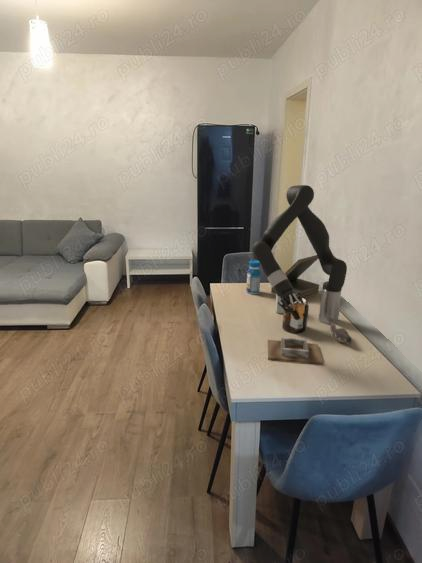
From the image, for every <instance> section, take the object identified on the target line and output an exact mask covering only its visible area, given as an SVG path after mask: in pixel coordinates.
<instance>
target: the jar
mask: <svg viewBox="0 0 422 563" xmlns="http://www.w3.org/2000/svg"><path fill="white" fill-rule="evenodd" d="M302 300H303V302H304V304H305V310H304V311H305V313H306V316H305V317H304V318H303V324H302V325H303V328H301V329H299V328H298V329H296V328H294V327H291V326H290V322H291V313H290V312H288V313H287V312H286V311H285V310H284V313H282V316H283V317H282V329H283V330H284V331H285V332H287V333H290V332H291V333H292V334H302V333H304V332H306V331H307V328H308V320H309V319H308V318H309V310H310V308H309V307H310V306H309V304H308V303H307V300H306V298H305V299H303V298H302ZM294 303H295V302H294ZM300 303H301V302H300ZM286 308H287V307H286ZM291 308H292V307H291ZM287 309H288V308H287Z"/></svg>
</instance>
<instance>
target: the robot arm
mask: <svg viewBox="0 0 422 563" xmlns="http://www.w3.org/2000/svg"><path fill="white" fill-rule="evenodd" d="M314 191H315V190H314V189H313V188H312V186H310V185H306V184H301V185H300V184H299V185H293V186H290V187H289V188H288V189H287V191H286V195H285V197H286V201H287V203H288V205H289V206H288V208H286V209H285V210H284V211H283V212H282V213H280V214H279V215H278V216H276V217H275V218H274V219H273V220H272V221H271V223H270V224H269V225H268V226H267V227H266V229H265V230H264V232H263V235H262V236H261V239H260V240H258V241H255V243H254V244H253V246H252V248H251V249H252V252H251V254H252V257H253V258H254V260H257V261H259V262H260V267H261V268H262V271H263V273H264V275H265V277H266V278H267V280H268V283H269V284H270V286H271V288H273V289H274V291H275V293H276V294H277V296H280V298H281V300H280V301H279V302H278V304H279V305H280V306H281V307H282V308H283V309H284V310H285V311H286V312H287V313H288V312H290V313H291V314H292V315H293V317H294V319H295V320H299V319H300V316H299V314H298V313H297V311H296V310H295V308H294V306H293V304H294V302H295V303H296V302H299V303H300V302H301V303H302V304H304V302H303V300H302V297H301V294H300V293H295V292H294V291H293V290H292V289H293V286H292V284H291V283H290V281H289V280H288V278H287V276H286V275H285V273H286V272H284V271H283V269H282V268H281V266H280V265H279V263H278V262H277V260H276V258H275V256H274V253H273V252H272V251H273V248H274V247H275V245H276V243H277V242H278V241H279V240H280V238H281V237H282V236H283V235H284V233H285V232H286V231H287V229H288V227H289V226H290V225H291V224H292V223H293V222H294V221H295V220H296V219H298V220H299V223H300V224H301V226H302V229H303V231H304V232H305V235H306V237H307V238H308V240H309V242H310V244H311V246H312V248H313V250H314V252H315V255H317V256H318V259H317V260H318V261H319V263H320V266H321V269H322V271H323V272H324V274H326V275H327V276H329V278H328V281H324V282H323V283H322V289H321V298H320V304H319V312H318V320H319V322H321V323H323V324H328V325H330V324H329V321H328V320H327V319H326V317H330V318H331V319H332V320H333V321H334V322H335V323H336V324H338V322H339V316H340V311H341V310H340V309H341V305H340V304H341V303H340V302H341V295H342V289H343V287H344V285H345V282H346V276H347V271H348V266H347V263H346V262H345V261H344V260H342V259H340V258H337V257H336V256H335V255H334V253H333V252H332V251H331V248H330V235H329V232H328V230H327V227H326V226H325V223H324V222H323V221H322V220H321V219H320V218H319V217H318V216H317V215H316V213H313V211H312V210H311V209H310V207H309V205H310V204H311V203H312V201H313V200H314V198H315V192H314ZM276 294H275V295H276ZM286 307H287V308H288V309H287V308H286ZM291 307H292V308H291ZM305 316H306V313H305V311H304V317H305Z"/></svg>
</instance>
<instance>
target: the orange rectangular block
mask: <svg viewBox="0 0 422 563" xmlns="http://www.w3.org/2000/svg"><path fill="white" fill-rule="evenodd" d="M293 306H294V308H295V310H296V311H297V313H298V314H299V316H300V319H299V320H295V319H294V317H293V315H292V314H291V322H290V326H291V327H294V328H296V329H298V328H299V329H301V328H303V325H302V324H303V318H304V310H305V304H302V303H299V302H296V303H294V304H293Z"/></svg>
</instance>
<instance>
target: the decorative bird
mask: <svg viewBox="0 0 422 563" xmlns="http://www.w3.org/2000/svg"><path fill="white" fill-rule="evenodd" d="M326 319H327V320H328V321H329V324H328V325H329V328H330V332H331V333H332V336H333V337H334V339H335V340H336V341H337V342H339V343H344V344H349V346H352V343H351V342H352V341H353V339H352V337H351V336H350V334H349V333H348V331H347V330H346V329H345V328H344V327H343V326H341V325H340V324H338V323H335V322H334V321H333V320H332V319H331V318H330V317H326Z"/></svg>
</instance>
